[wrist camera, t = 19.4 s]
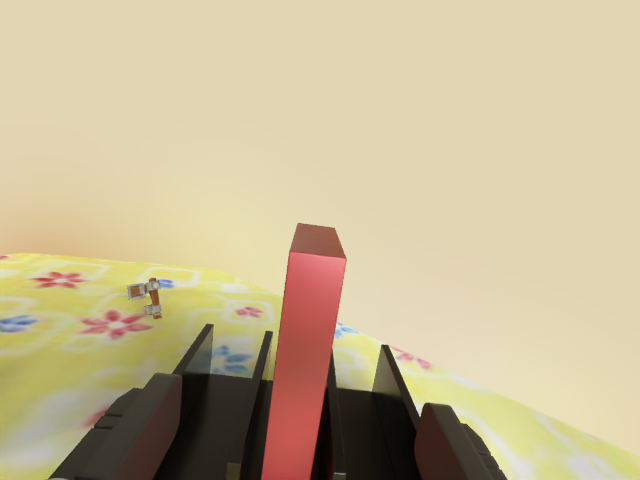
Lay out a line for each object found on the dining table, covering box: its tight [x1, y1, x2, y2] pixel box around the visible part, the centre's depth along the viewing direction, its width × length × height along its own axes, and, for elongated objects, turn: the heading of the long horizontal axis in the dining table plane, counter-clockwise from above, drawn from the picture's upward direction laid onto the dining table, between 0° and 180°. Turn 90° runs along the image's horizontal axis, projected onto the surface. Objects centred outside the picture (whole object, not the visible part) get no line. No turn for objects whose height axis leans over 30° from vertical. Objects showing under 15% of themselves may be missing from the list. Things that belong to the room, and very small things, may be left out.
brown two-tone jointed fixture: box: [127, 278, 162, 319], centre depth 37 cm, size 2×8×4 cm, turn 45°
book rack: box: [152, 324, 422, 480], centre depth 21 cm, size 16×12×6 cm
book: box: [261, 223, 347, 480], centre depth 20 cm, size 3×8×14 cm, turn 1°
